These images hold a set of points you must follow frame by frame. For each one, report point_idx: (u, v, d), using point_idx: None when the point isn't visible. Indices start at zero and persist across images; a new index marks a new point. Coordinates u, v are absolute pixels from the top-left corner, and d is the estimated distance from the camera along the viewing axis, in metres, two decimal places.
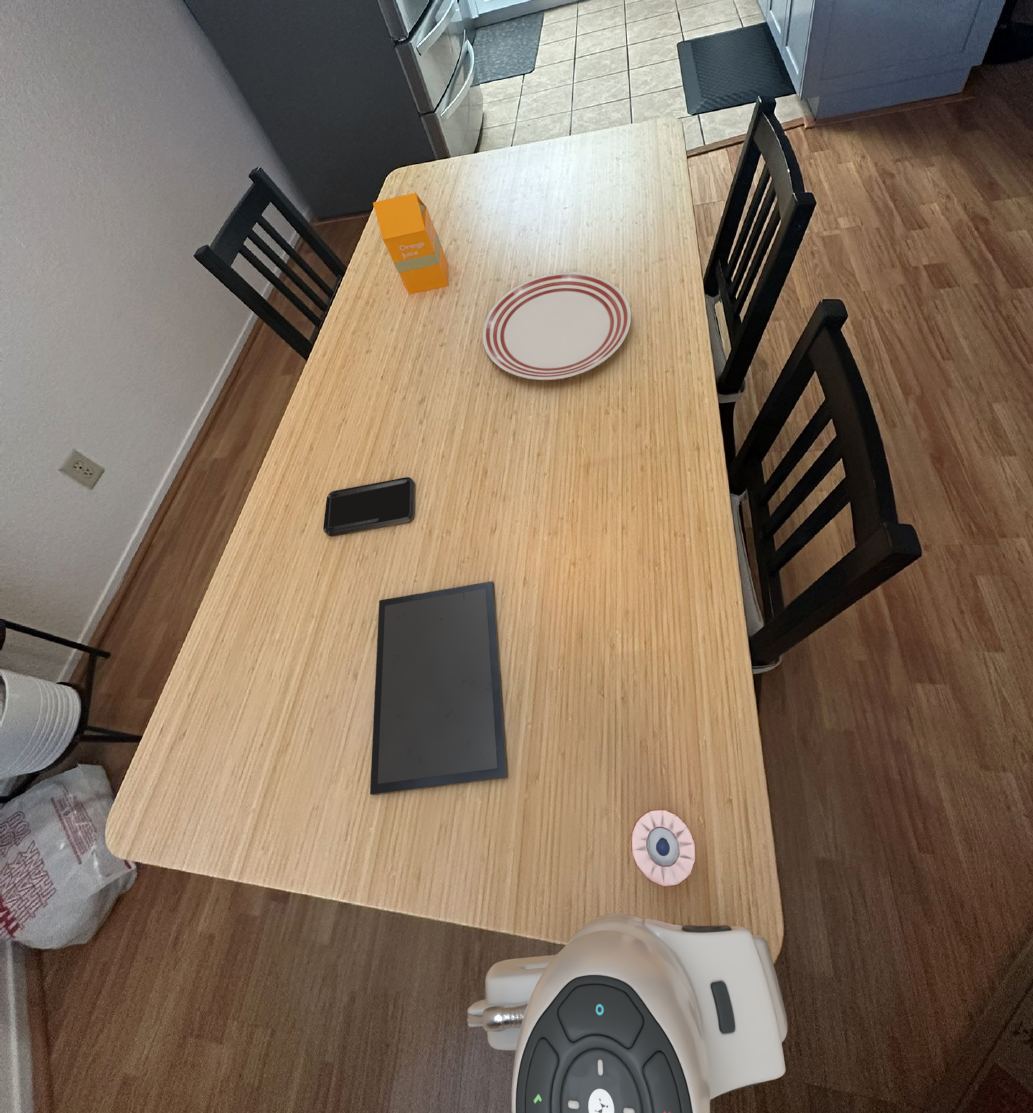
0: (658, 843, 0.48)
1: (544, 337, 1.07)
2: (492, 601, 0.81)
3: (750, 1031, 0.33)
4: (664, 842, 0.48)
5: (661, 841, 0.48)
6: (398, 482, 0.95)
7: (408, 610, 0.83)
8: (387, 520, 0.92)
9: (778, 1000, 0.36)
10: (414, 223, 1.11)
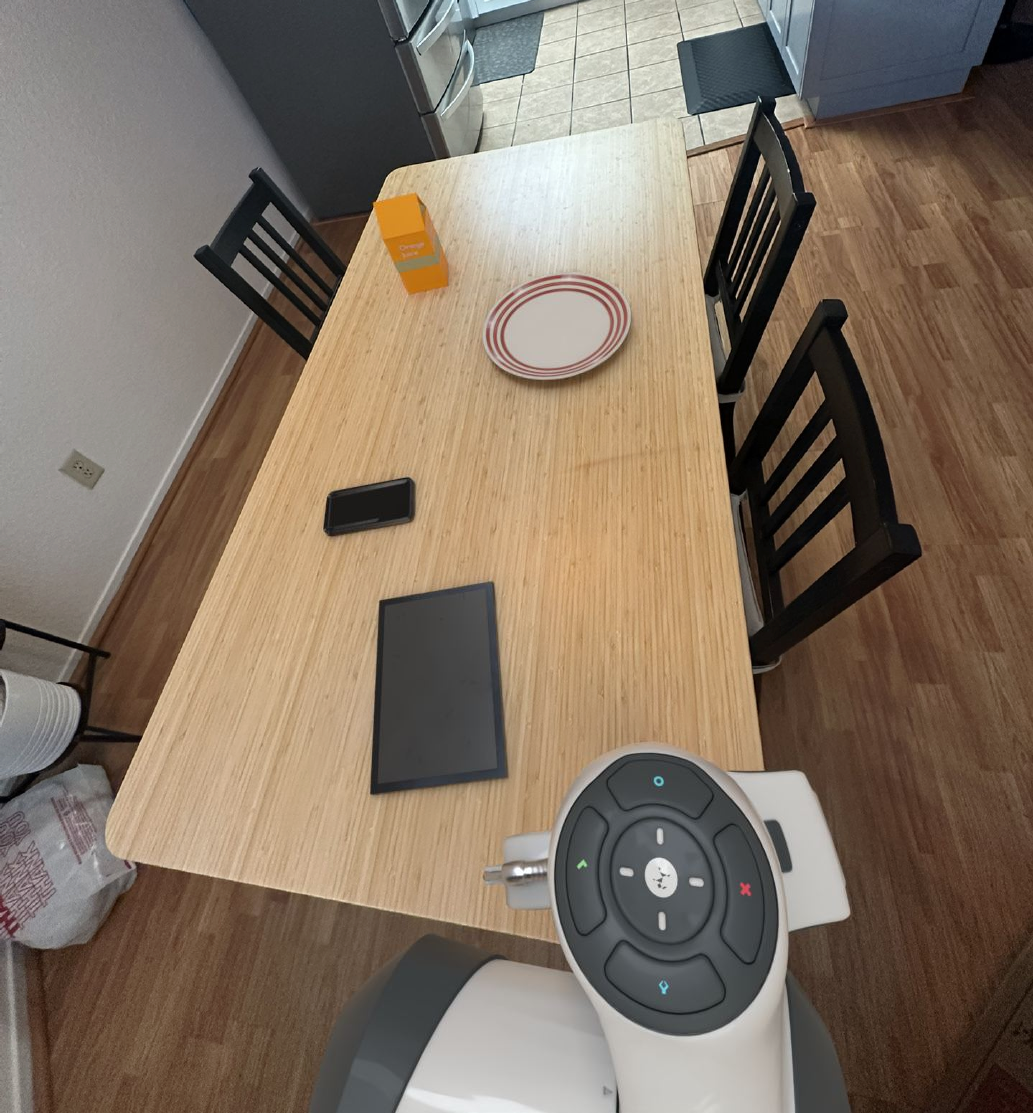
0: None
1: (544, 337, 1.07)
2: (492, 601, 0.81)
3: (809, 871, 0.29)
4: None
5: None
6: (398, 482, 0.95)
7: (408, 610, 0.83)
8: (387, 520, 0.92)
9: (835, 851, 0.32)
10: (414, 223, 1.11)
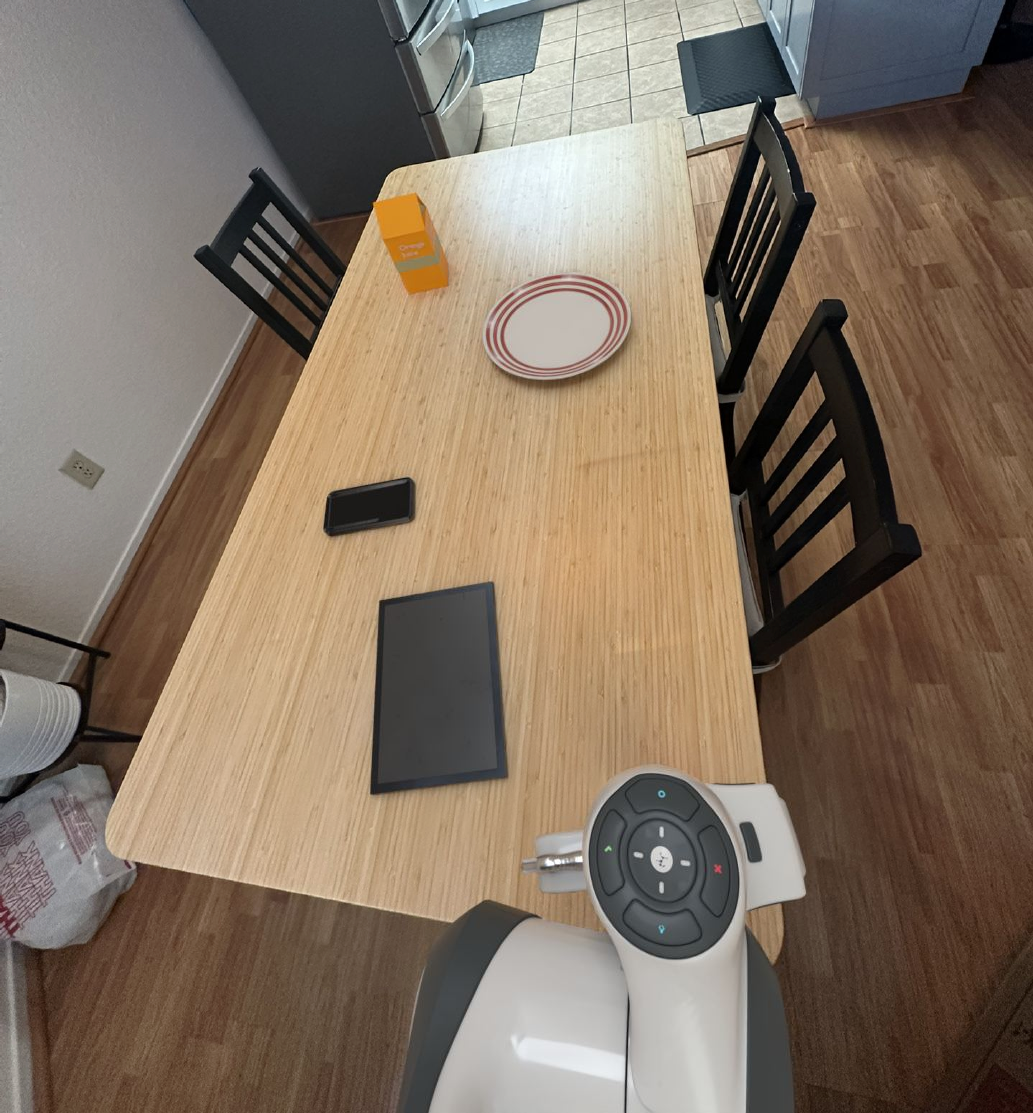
0: None
1: (544, 337, 1.07)
2: (492, 601, 0.81)
3: (775, 861, 0.38)
4: None
5: None
6: (398, 482, 0.95)
7: (408, 610, 0.83)
8: (387, 520, 0.92)
9: (798, 846, 0.41)
10: (414, 223, 1.11)
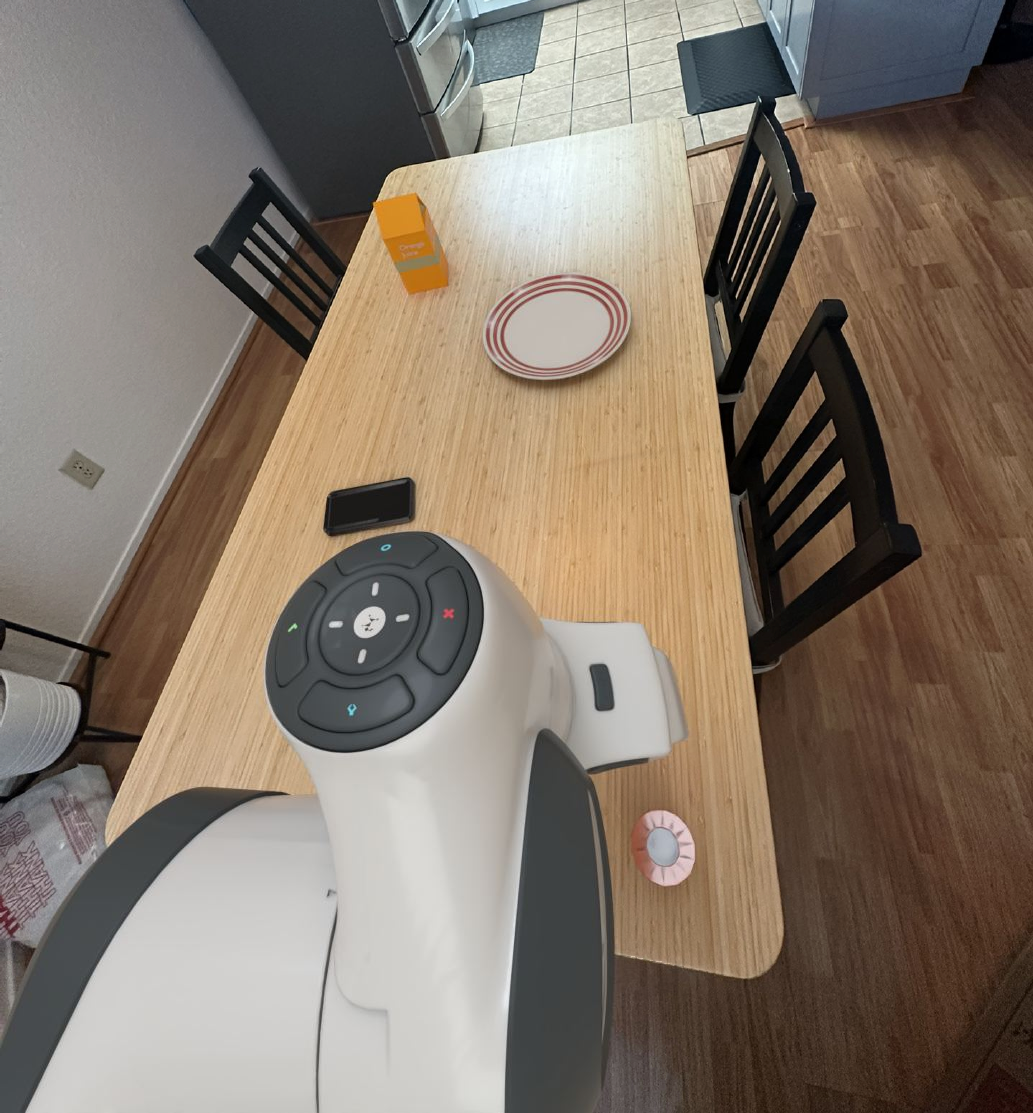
0: None
1: (544, 337, 1.07)
2: None
3: (631, 710, 0.28)
4: None
5: None
6: (398, 482, 0.95)
7: None
8: (387, 520, 0.92)
9: (675, 705, 0.31)
10: (414, 223, 1.11)
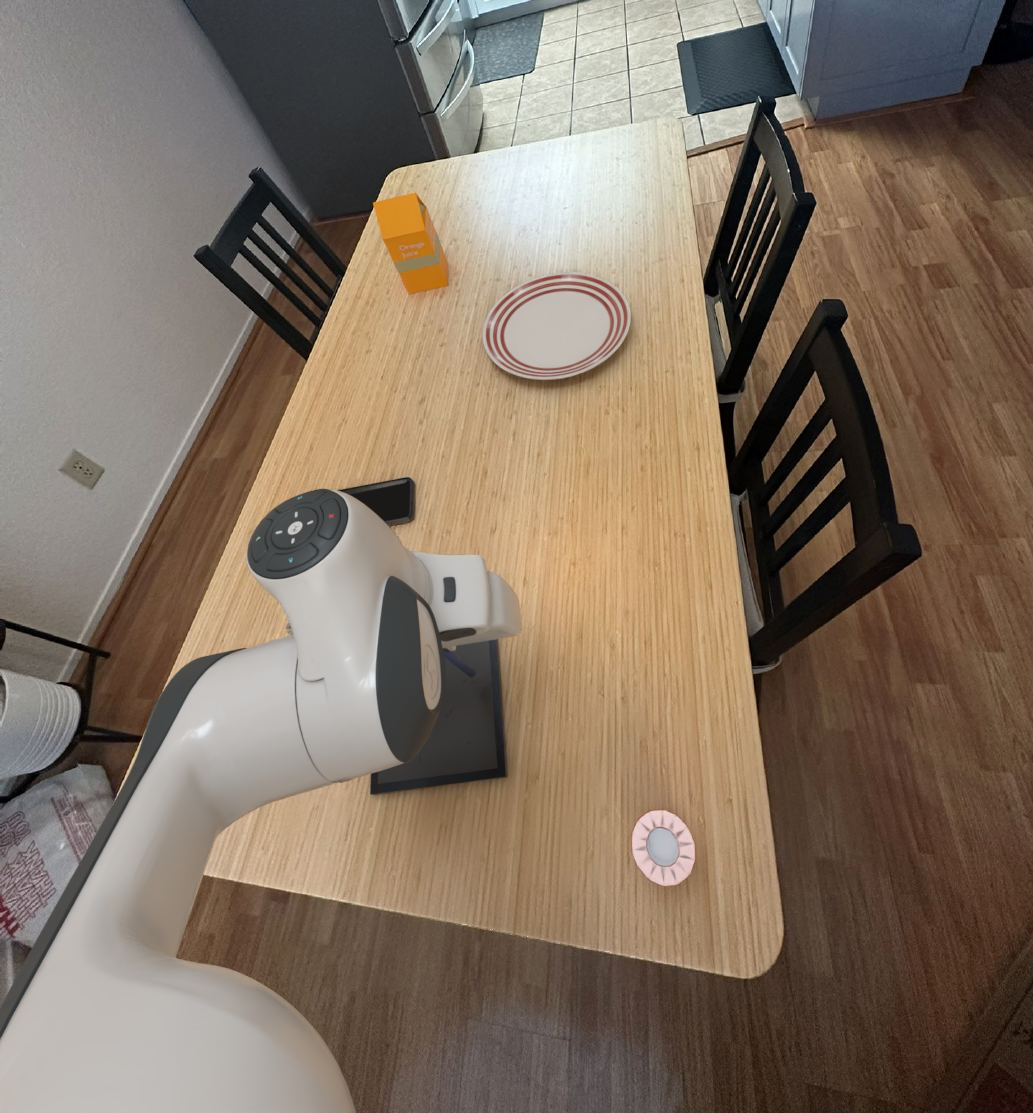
0: None
1: (544, 337, 1.07)
2: None
3: (465, 602, 0.48)
4: None
5: None
6: (398, 482, 0.95)
7: None
8: (387, 520, 0.92)
9: (502, 606, 0.51)
10: (414, 223, 1.11)
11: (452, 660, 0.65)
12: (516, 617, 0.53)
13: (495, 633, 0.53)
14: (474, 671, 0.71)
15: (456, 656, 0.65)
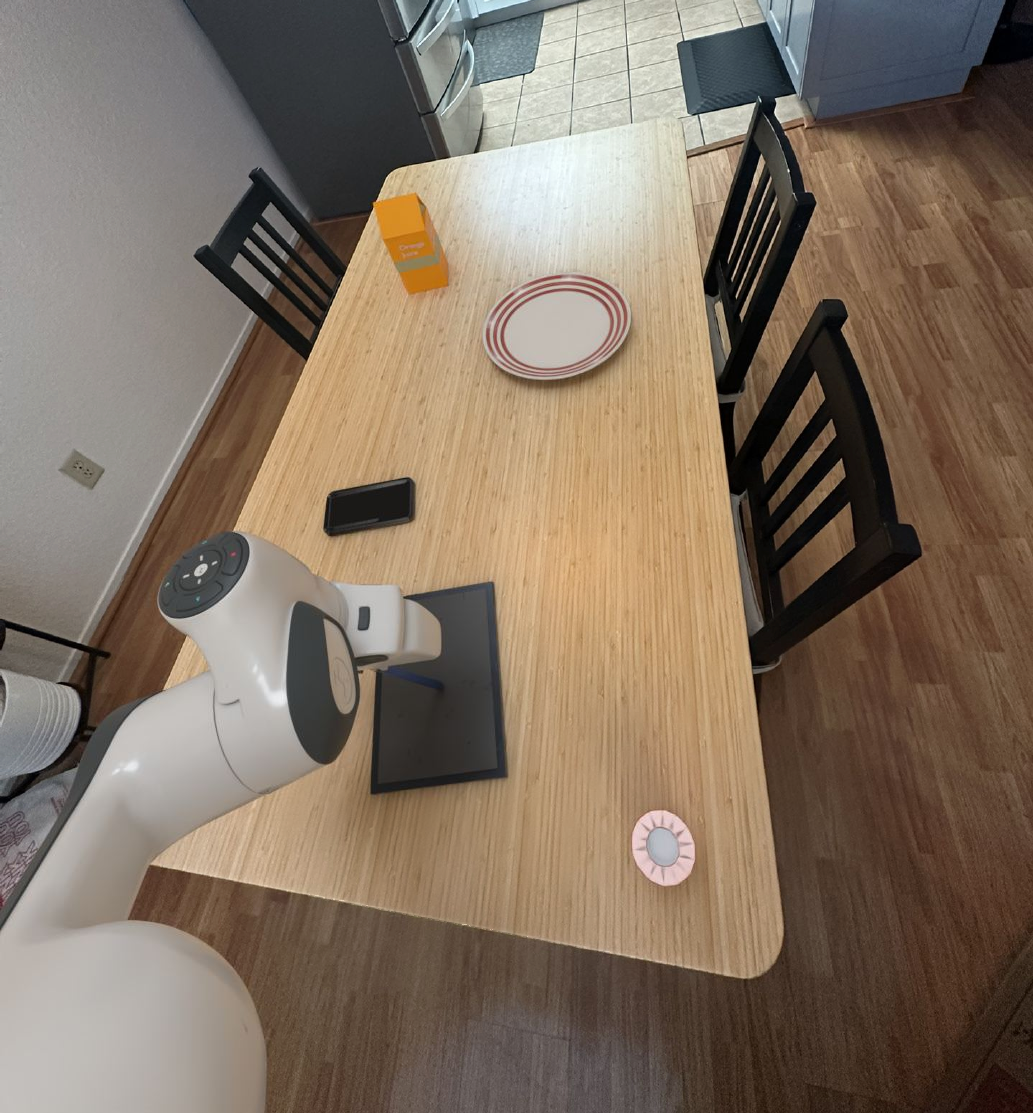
0: None
1: (544, 337, 1.07)
2: (492, 601, 0.81)
3: (377, 630, 0.52)
4: None
5: None
6: (398, 482, 0.95)
7: None
8: (387, 520, 0.92)
9: (417, 632, 0.55)
10: (414, 223, 1.11)
11: (399, 677, 0.68)
12: (434, 642, 0.57)
13: (414, 656, 0.57)
14: (439, 684, 0.75)
15: (404, 673, 0.69)
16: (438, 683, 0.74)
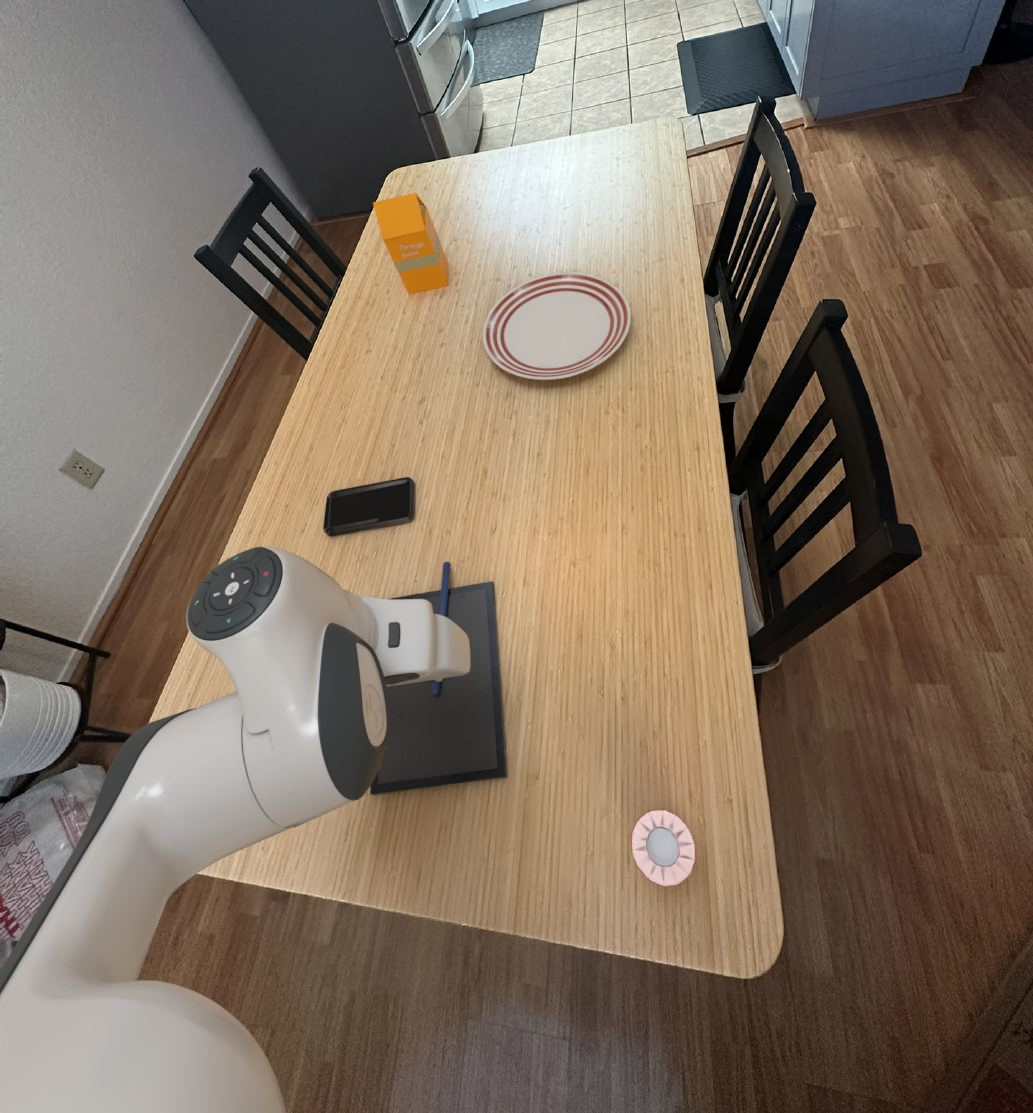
0: None
1: (544, 337, 1.07)
2: (492, 601, 0.81)
3: (409, 647, 0.50)
4: None
5: None
6: (398, 482, 0.95)
7: None
8: (387, 520, 0.92)
9: (448, 649, 0.53)
10: (414, 223, 1.11)
11: None
12: (463, 657, 0.55)
13: (443, 673, 0.55)
14: (439, 685, 0.75)
15: None
16: (439, 683, 0.75)
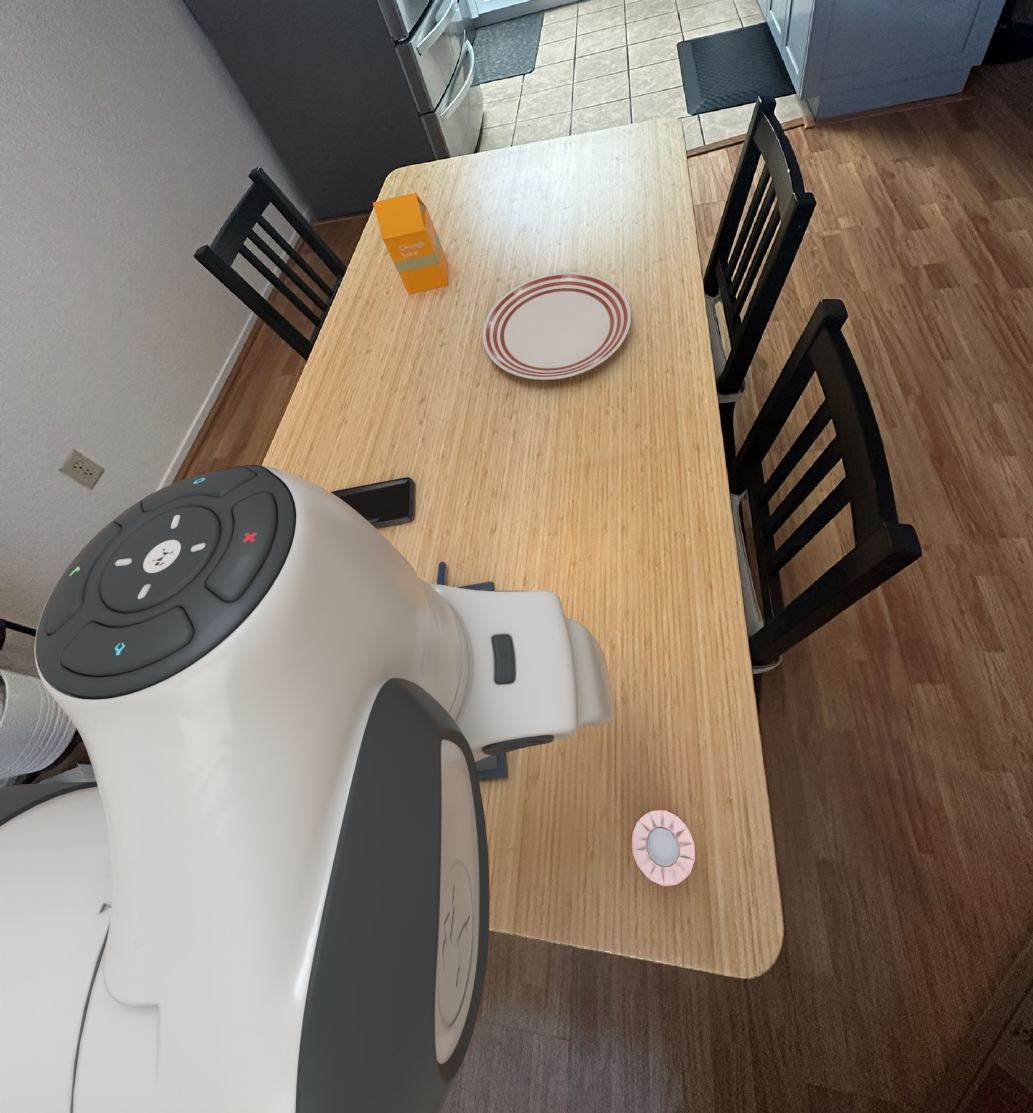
0: None
1: (544, 337, 1.07)
2: None
3: (534, 683, 0.26)
4: None
5: (445, 563, 0.85)
6: (398, 482, 0.95)
7: None
8: (387, 520, 0.92)
9: (593, 682, 0.29)
10: (414, 223, 1.11)
11: None
12: (609, 695, 0.31)
13: None
14: None
15: None
16: None
